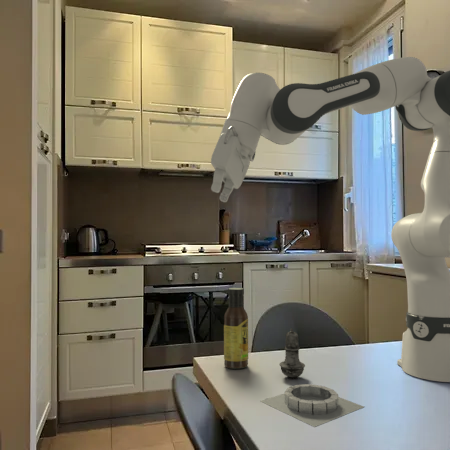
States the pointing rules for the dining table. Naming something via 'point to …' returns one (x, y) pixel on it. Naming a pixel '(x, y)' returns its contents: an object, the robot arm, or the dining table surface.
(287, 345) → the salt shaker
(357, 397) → the dining table surface
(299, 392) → the ring
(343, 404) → the board
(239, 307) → the sauce bottle
